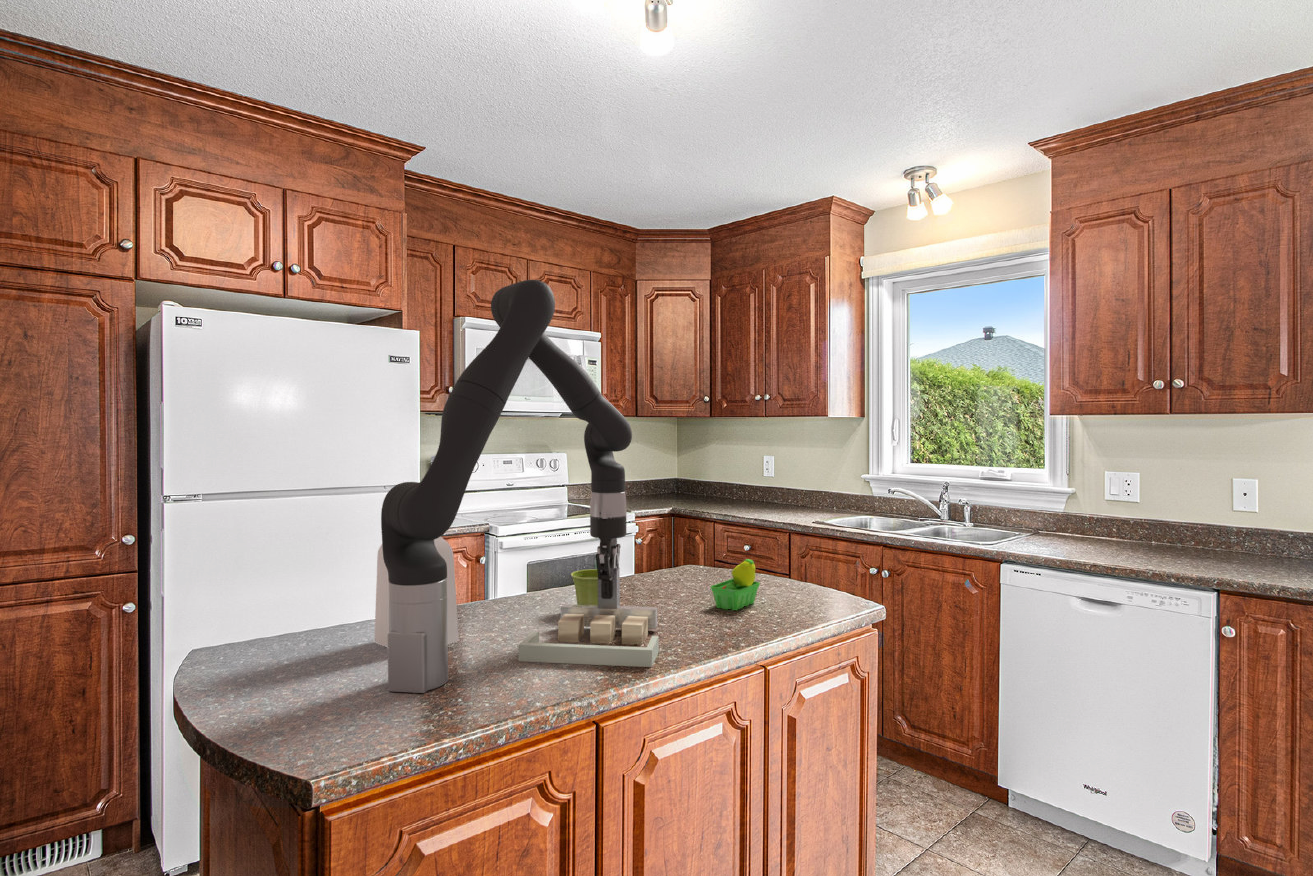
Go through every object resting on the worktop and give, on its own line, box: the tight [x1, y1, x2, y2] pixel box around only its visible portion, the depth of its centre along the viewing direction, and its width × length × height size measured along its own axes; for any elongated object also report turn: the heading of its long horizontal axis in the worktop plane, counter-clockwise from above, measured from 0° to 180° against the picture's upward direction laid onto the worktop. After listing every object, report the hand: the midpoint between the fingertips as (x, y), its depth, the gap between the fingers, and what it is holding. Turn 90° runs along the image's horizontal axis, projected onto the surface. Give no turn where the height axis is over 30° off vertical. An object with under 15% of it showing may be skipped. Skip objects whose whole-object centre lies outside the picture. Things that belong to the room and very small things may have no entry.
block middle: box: [589, 615, 616, 644], centre depth 142 cm, size 6×4×4 cm, turn 174°
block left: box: [557, 614, 585, 643], centre depth 143 cm, size 6×4×4 cm, turn 175°
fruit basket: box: [710, 558, 761, 611], centre depth 167 cm, size 11×9×11 cm
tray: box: [517, 630, 660, 668], centre depth 131 cm, size 8×24×3 cm, turn 82°
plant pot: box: [570, 568, 598, 605], centre depth 163 cm, size 9×9×9 cm
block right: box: [621, 616, 649, 646], centre depth 141 cm, size 6×4×4 cm, turn 169°
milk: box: [373, 536, 460, 649], centre depth 140 cm, size 12×12×26 cm
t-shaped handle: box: [560, 567, 658, 630], centre depth 148 cm, size 3×20×12 cm, turn 82°
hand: (608, 596), depth 148 cm, fingers closed on t-shaped handle, 3 cm apart
